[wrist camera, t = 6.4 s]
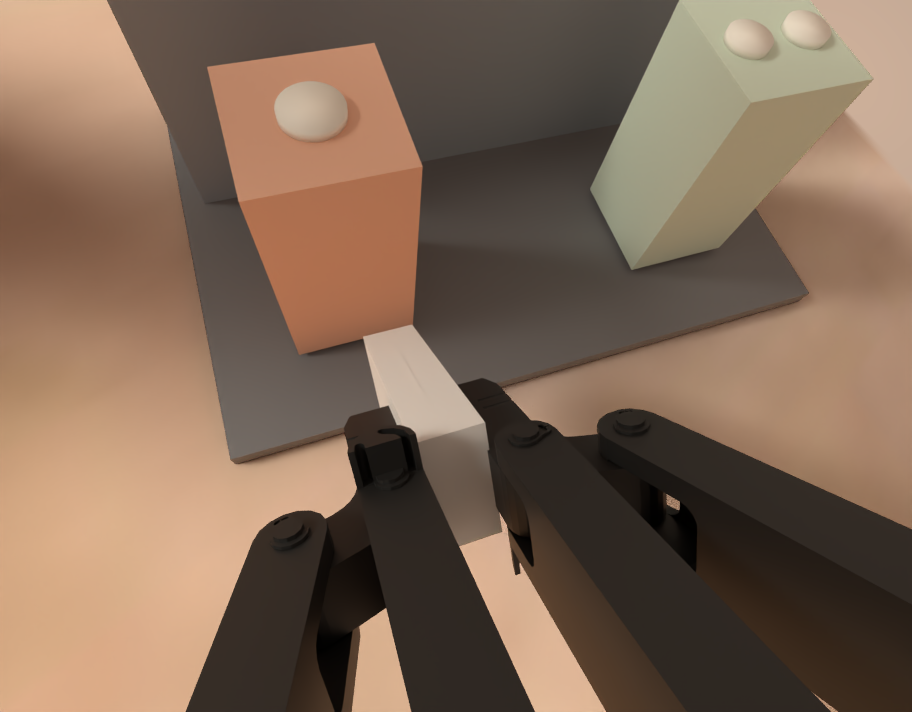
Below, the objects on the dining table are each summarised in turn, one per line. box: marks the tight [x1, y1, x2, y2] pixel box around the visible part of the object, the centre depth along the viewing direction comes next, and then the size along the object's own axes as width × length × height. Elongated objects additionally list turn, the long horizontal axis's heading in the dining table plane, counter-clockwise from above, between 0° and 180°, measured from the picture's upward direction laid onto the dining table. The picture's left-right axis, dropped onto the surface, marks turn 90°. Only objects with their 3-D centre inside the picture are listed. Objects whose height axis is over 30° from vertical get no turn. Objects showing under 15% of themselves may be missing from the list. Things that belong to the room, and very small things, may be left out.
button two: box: [590, 0, 873, 270], centre depth 24 cm, size 5×5×10 cm
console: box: [107, 0, 809, 464], centre depth 23 cm, size 20×28×13 cm
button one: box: [207, 43, 423, 355], centre depth 20 cm, size 5×5×10 cm
